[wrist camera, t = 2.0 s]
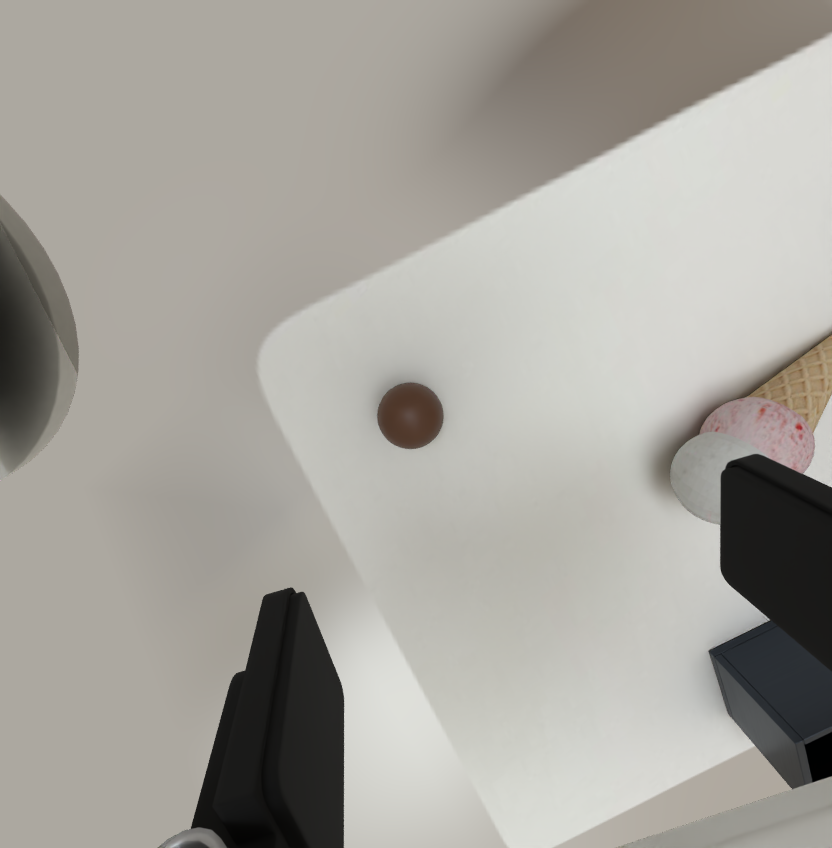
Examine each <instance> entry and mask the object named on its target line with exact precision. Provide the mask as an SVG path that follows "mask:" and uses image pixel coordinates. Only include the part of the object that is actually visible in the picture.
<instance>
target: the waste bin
mask: <svg viewBox="0 0 832 848" xmlns="http://www.w3.org/2000/svg"><path fill="white" fill-rule="evenodd" d="M709 653H710V656H711V659H712V662H713V666H714V669H715V672H716V675H717V679H718V682H719V685H720V688H721V691H722V695H723V698H724V701H725V704H726V708H727V711H728V714H729V715H730V716H731V718H732V719H733V720H734V721H735V722H736V723H737V725H738V726H739V727H740V728H741V729H742V731H743V732H744V733H745V734H746V735H747V736H748V738H749V739H750V740H751V741H752V742H753V743H754V745H755V746H756V747H757V748H758V749H759V750H760V752H761V753H762V754H763V755H764V756H765V758H766V759H767V760H768V761H769V762H770V764H771V765H772V766H773V767H774V768H775V769H776V771H777V772H778V773H779V774H780V775H781V777H782V778H783V779H784V780H785V781H786V782H787V784H788V785H789V786H790V787H791V788H792V789H795V788H798V787H801V786H804V785H807V784H810V783H813V782H816V781H819V780H822V779H825V778H828V777H831V776H832V671H830V670H829V669H828V668H827V667H826V666H825V665H823V664H822V663H821V662H820V661H819V660H817V659H816V658H815V657H814V656H813V655H812V654H810V653H809V652H808V651H807V650H806V649H804V648H803V647H802V646H801V645H800V644H799V643H797V642H796V641H795V640H794V639H793V638H792V637H790V636H789V635H788V634H787V633H786V632H784V631H783V630H782V629H781V628H780V627H779V626H777V625H776V624H775V623H774V622H773V621H770V622H768V623H765V624H763V625H761V626H759V627H757V628H755V629H753V630H751V631H749V632H747V633H745V634H743V635H741V636H739V637H737V638H735V639H733V640H731V641H729V642H727V643H725V644H723V645H721V646H718V647H716V648H714V649H712V650H710V651H709Z"/></svg>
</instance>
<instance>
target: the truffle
mask: <svg viewBox="0 0 832 848" xmlns="http://www.w3.org/2000/svg"><path fill="white" fill-rule="evenodd" d="M377 418H378V425H379V427H380V430H381V432H382V434H383V435H384V436H385V437H386V439H387V440H388V441H390V442H391V443H392V444H394V445H396V446H398V447H401V448H406V449H416V448H420V447H423V446H425V445H427V444H428V443H430V442H431V441H432V440H433V439H434V438H435V437H436V436H437V435H438V433H439V431H440V429H441V427H442V423H443V408H442V405H441V403H440V400H439V399H438V397H437V396H436V395H435V393H434V392H433V391H431V390H430V389H429V388H427V387H425V386H423V385H420V384H417V383H404V384H400V385H397V386H395V387H394V388H392V389H390V390H389V391H388V392H387V393H386V394H385V395H384V397H383V398H382V400H381V402H380V404H379V407H378V414H377Z"/></svg>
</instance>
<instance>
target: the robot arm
mask: <svg viewBox="0 0 832 848" xmlns="http://www.w3.org/2000/svg"><path fill="white" fill-rule="evenodd" d="M720 567H721V572H722V575H723V577H724V579H725V580H726V581H727V583H728V584H729V585H730V586H731V587H733V588H734V589H735V590H736V591H737V592H739V593H740V594H741V595H742V596H743V597H744V598H746V599H747V600H748V601H749V602H750V603H751V604H753V605H754V606H755V607H756V608H757V609H759V610H760V611H761V612H762V613H763V614H764V615H766V616H767V617H768V618H769V619H770V620H771V621H773V622H774V623H775V624H776V625H777V626H779V627H780V628H781V629H782V630H783V631H784V632H786V633H787V634H788V635H789V636H790V637H792V638H793V639H794V640H795V641H796V642H797V643H799V644H800V645H801V646H802V647H803V648H804V649H806V650H807V651H808V652H809V653H810V654H812V655H813V656H814V657H815V658H816V659H817V660H819V661H820V662H821V663H822V664H823V665H825V666H826V667H827V668H828V669H829V670H830V671H832V488H831V487H829V486H827V485H825V484H823V483H821V482H819V481H816V480H814V479H812V478H810V477H808V476H806V475H804V474H802V473H799V472H797V471H795V470H793V469H791V468H789V467H787V466H785V465H782V464H780V463H778V462H776V461H774V460H772V459H770V458H768V457H765V456H763V455H760V454H752V455H749V456H745V457H742V458H738V459H735V460H731V461H730V462H728V463H727V465H726V467H725V470H723V471H722V473H721V498H720ZM158 848H344V695H343V689H342V685H341V682H340V679H339V677H338V674H337V672H336V669H335V667H334V664H333V662H332V659H331V657H330V654H329V652H328V650H327V647H326V644H325V642H324V639H323V637H322V634H321V632H320V629H319V627H318V624H317V622H316V619H315V617H314V614H313V612H312V610H311V607H310V604H309V602H308V600H307V597H306V595H305V593H304V592H299V593H296V592H295V590H294V589H293V588H287V589H284V590H280V591H277V592H273V593H270V594H267V595H265V596H264V597H263V600H262V604H261V608H260V612H259V616H258V621H257V625H256V629H255V633H254V637H253V641H252V645H251V649H250V654H249V658H248V662H247V666H246V670H245V671H242V672H239V673H236V674H235V675H234V677H233V678H232V681H231V683H230V686H229V690H228V694H227V697H226V701H225V704H224V708H223V712H222V715H221V719H220V723H219V727H218V730H217V734H216V738H215V741H214V745H213V749H212V753H211V756H210V760H209V763H208V768H207V771H206V774H205V778H204V782H203V786H202V789H201V793H200V797H199V801H198V804H197V808H196V812H195V815H194V819H193V822H192V826H191V829H189V830H185V831H182V832H181V833H179V834H177V835H175V836H173V837H171V838H169V839H167V840H166V841H165V842H164V843H163V844H161V845H160V846H159V847H158ZM617 848H832V776H831V777H828V778H825V779H822V780H819V781H816V782H813V783H810V784H807V785H804V786H801V787H798V788H795V789H792V790H789V791H786V792H783V793H780V794H776V795H773V796H770V797H767V798H764V799H761V800H758V801H755V802H752V803H749V804H746V805H743V806H740V807H737V808H734V809H731V810H728V811H725V812H722V813H719V814H716V815H713V816H710V817H707V818H704V819H701V820H698V821H695V822H692V823H689V824H686V825H683V826H680V827H677V828H673V829H671V830H668V831H664V832H662V833H659V834H656V835H652V836H650V837H646V838H644V839H640V840H637V841H635V842H632V843H629V844H626V845H623V846H620V847H617Z"/></svg>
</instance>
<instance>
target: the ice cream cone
mask: <svg viewBox="0 0 832 848" xmlns="http://www.w3.org/2000/svg"><path fill="white" fill-rule="evenodd" d="M831 394H832V335H831V336H829V337H828V338H826V339H825V340H824V341H822V342H821V343H820V344H818V345H817V346H816V347H814V348H813V349H811V350H810V351H809V352H807V353H806V354H805V355H803V356H802V357H801V358H799V359H798V360H796V361H795V362H794V363H792V364H791V365H790V366H788V367H787V368H786V369H784V370H783V371H781V372H780V373H779V374H777V375H776V376H775V377H773V378H772V379H770V380H769V381H768V382H766V383H765V384H764V385H762V386H761V387H760V388H758V389H757V390H755V391H754V392H753V393H751V394H750V395H749V396H747V397H746V398H741V399H737V400H733V401H730V402H728V403H725V404H723V405H722V406H720V407H719V408H717V409H716V410H715V411H713V412H712V413H711V414H710V415H709V416H708V417H707V419H706V420H705V422H704V423H703V425H702V427H701V430H700V434H699V435H697V436H695V437H694V438H692V439H690V440H689V441H687V442H686V443H685V444H684V445H683V446H682V447H681V448H680V449H679V450H678V452H677V453H676V455H675V457H674V459H673V462H672V465H671V471H670V479H671V485H672V488H673V490H674V493H675V494H676V496H677V498H678V500H679V501H680V502H681V504H682V505H683V506H684V507H685V508H686V509H687V510H688V511H689V512H691V513H692V514H693V515H695V516H696V517H698V518H700V519H702V520H705V521H707V522H710V523H714V524H719V525H720V498H721V473H722V471H723V470H725V467H726V465H727V463H728V462H730V461H731V460H735V459H738V458H742V457H745V456H749V455H752V454H760V455H763V456H765V457H768V458H770V459H772V460H774V461H776V462H778V463H780V464H782V465H785V466H787V467H789V468H791V469H793V470H795V471H797V472H799V473H802V474H803V473H804V472H805V471H806V469H807V468H808V466H809V465H810V463H811V460H812V458H813V455H814V449H815V442H814V436H813V432H814V430H815V428H816V426H817V424H818V422H819V419H820V417H821V415H822V413H823V411H824V409H825V407H826V405H827V403H828V401H829V399H830V396H831Z"/></svg>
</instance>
